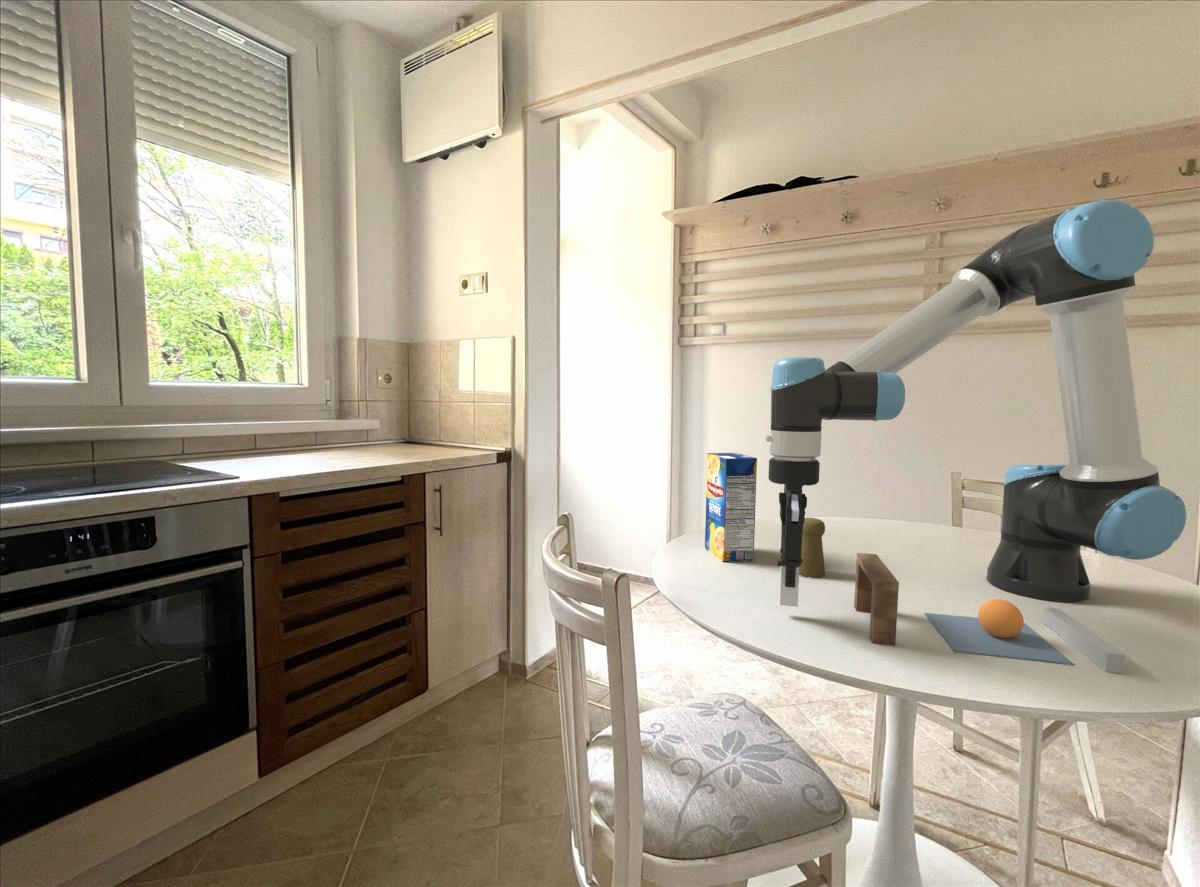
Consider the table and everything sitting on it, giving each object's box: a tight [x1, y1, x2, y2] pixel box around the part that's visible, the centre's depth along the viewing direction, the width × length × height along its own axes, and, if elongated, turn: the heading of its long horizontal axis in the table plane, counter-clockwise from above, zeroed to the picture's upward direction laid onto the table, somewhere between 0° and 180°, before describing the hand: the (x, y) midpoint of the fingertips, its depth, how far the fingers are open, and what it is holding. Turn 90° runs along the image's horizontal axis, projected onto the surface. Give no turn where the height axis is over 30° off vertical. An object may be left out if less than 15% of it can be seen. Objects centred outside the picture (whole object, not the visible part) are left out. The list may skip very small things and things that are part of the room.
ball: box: [977, 598, 1025, 638], centre depth 83 cm, size 6×6×6 cm
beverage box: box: [704, 452, 758, 562], centre depth 124 cm, size 7×11×22 cm, turn 10°
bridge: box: [853, 552, 900, 647], centre depth 87 cm, size 3×14×9 cm, turn 165°
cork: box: [799, 517, 826, 579], centre depth 111 cm, size 6×6×11 cm
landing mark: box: [923, 612, 1075, 666], centre depth 83 cm, size 14×14×1 cm
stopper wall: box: [1042, 607, 1127, 674], centre depth 80 cm, size 2×16×2 cm, turn 165°
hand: (788, 604), depth 90 cm, fingers closed
